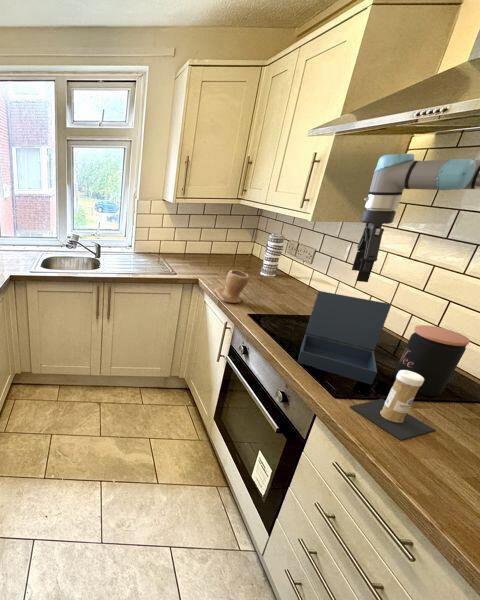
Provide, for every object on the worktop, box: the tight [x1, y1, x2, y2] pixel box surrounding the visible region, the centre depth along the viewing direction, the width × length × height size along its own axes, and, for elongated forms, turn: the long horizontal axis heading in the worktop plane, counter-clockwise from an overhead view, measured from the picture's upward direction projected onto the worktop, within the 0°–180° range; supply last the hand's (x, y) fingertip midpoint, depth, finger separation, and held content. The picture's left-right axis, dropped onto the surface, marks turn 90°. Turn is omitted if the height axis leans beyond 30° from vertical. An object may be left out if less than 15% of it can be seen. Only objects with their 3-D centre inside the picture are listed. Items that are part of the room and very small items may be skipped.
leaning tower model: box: [260, 233, 286, 277], centre depth 193 cm, size 9×9×25 cm
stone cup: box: [214, 269, 250, 304], centre depth 156 cm, size 15×12×15 cm
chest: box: [297, 333, 378, 386], centre depth 106 cm, size 15×19×5 cm
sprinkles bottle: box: [380, 370, 424, 423], centre depth 80 cm, size 5×5×13 cm
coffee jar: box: [392, 324, 471, 397], centre depth 92 cm, size 11×11×18 cm
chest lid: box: [305, 290, 392, 351], centre depth 108 cm, size 16×19×1 cm
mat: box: [349, 398, 436, 442], centre depth 82 cm, size 12×12×1 cm
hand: (359, 275), depth 104 cm, fingers open, 13 cm apart
